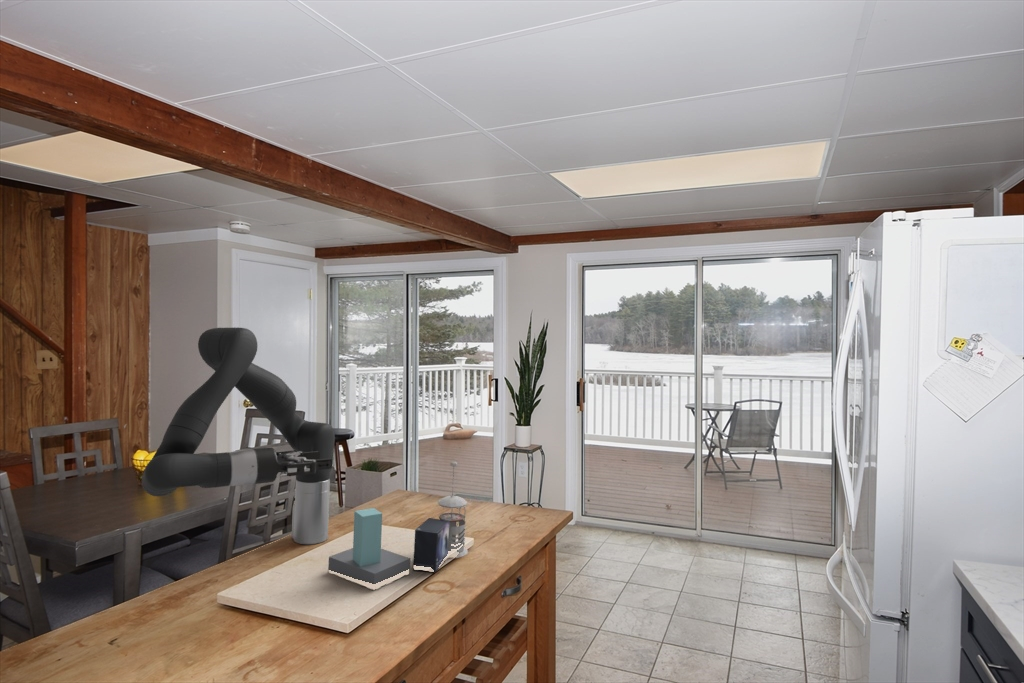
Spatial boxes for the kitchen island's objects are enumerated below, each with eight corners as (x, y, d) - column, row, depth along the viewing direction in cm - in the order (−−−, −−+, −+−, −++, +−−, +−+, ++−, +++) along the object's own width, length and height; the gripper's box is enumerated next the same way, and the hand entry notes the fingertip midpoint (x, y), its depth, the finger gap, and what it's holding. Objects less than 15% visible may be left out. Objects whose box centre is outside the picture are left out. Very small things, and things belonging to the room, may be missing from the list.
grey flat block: (328, 572, 147) (328, 556, 147) (364, 558, 157) (365, 543, 157) (374, 590, 138) (374, 573, 138) (409, 574, 148) (410, 558, 148)
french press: (425, 554, 161) (429, 462, 161) (446, 540, 172) (449, 454, 172) (458, 560, 158) (461, 467, 157) (476, 546, 168) (480, 459, 168)
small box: (436, 574, 149) (438, 532, 149) (411, 571, 150) (413, 529, 150) (449, 558, 159) (450, 519, 159) (426, 555, 160) (427, 517, 160)
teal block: (352, 559, 146) (354, 510, 145) (371, 555, 149) (373, 507, 148) (360, 566, 142) (362, 516, 141) (380, 562, 145) (382, 513, 144)
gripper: (260, 456, 122) (337, 449, 132) (243, 443, 134) (315, 438, 144) (259, 492, 123) (335, 482, 132) (242, 476, 134) (314, 468, 144)
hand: (325, 459), depth 138 cm, fingers open, 8 cm apart
